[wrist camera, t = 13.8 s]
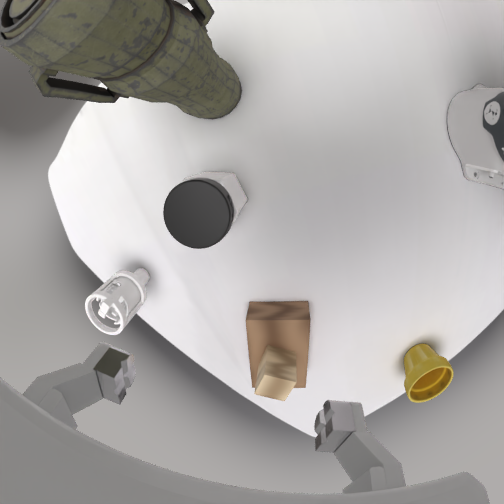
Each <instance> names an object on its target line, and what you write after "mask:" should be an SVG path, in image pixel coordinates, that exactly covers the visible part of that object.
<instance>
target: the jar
mask: <svg viewBox="0 0 504 504" xmlns="http://www.w3.org/2000/svg"><path fill="white" fill-rule="evenodd" d="M247 200H248V199H247V197H246V195H245V193H244V191H243V189H242V187H241V185H240V183H239V181H238V179H237V177H236V175H235V173H228V172H202V173H199V174H196V175H193V176H190V177H187V178H185V179H184V180H183V182H182V183H180V184H178V185H177V186H176V187H174V188H173V189H172V190H171V192H170V193H169V195H168V196H167V198H166V201H165V204H164V211H163V213H164V221H165V224H166V227H167V229H168V231H169V232H170V234H171V235H172V236H173V237H174V238H175V239H176V240H177V241H178V242H180V243H181V244H183V245H185V246H188V247H191V248H197V249H201V248H207V247H210V246H213V245H215V244H216V243H218V242H220V240H221V239H223V237H224V236H225V235H226V234H227V233H228V231H229V230H230V227H231V226H232V224H233V223H234V222H235V220H236V219H237V217H238V216H239V214H240V211H241V209H242V208H243V206H244V205H245V203H246V202H247Z"/></svg>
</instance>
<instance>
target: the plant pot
mask: <svg viewBox="0 0 504 504" xmlns="http://www.w3.org/2000/svg"><path fill="white" fill-rule="evenodd" d="M404 366H405V375H406V378H405V382H404V386H405V390H406V393H407V395H408V398H409V399H410V400H411V401H413V402H425V401H428V400H430V399H432V398H435V397H436V396H438V395H439V394H441V393H442V392H443V391H444V390H445V389H446V388H447V387H448V385H449V384H450V382H451V380H452V378H453V369H452V367H451V365H450V364H449V362H448V361H447V359H446V358H444V357H442V356H439V355H438V354H437V353H436V352H435V351H434V350H433V349H432V348H431V347H430V346H429V345H427V344H418V345H415V346H414V347H412V348H411V349H410V350H409V351H408V352H407V353H406V355H405V357H404Z"/></svg>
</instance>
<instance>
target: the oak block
mask: <svg viewBox="0 0 504 504" xmlns="http://www.w3.org/2000/svg"><path fill="white" fill-rule="evenodd" d="M296 383H297V373H296V352H292V351H289V350H285V349H281V348H278V347H274V346H270V345H267V348H266V350H265V352H264V354H263V356H262V359H261V361H260V363H259V366H258V373H257V380H256V387H255V394H256V395H260V396H264V397H268V398H273V399H277V400H281V401H285V400H286V398H287V397H288V395H289V393H290V392H291V390H292V389H293V387H294V386H295V384H296Z"/></svg>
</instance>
